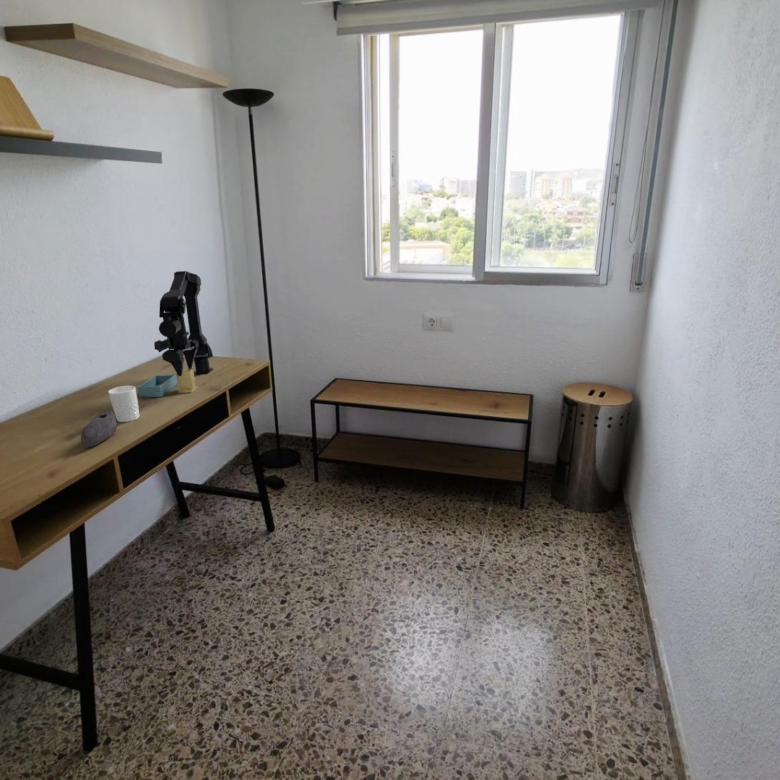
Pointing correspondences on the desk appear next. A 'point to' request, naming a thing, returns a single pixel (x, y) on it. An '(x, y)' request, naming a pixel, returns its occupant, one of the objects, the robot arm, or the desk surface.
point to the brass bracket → (187, 381)
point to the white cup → (124, 403)
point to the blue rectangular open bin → (157, 386)
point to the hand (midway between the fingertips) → (185, 372)
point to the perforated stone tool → (99, 429)
